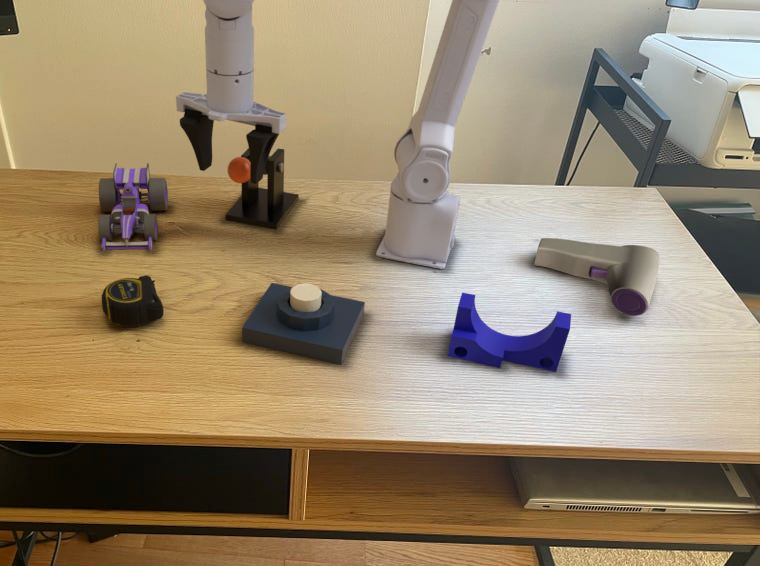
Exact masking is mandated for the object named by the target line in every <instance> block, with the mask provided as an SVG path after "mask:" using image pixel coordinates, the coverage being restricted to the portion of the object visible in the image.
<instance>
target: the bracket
mask: <svg viewBox="0 0 760 566" xmlns="http://www.w3.org/2000/svg"><path fill="white" fill-rule="evenodd" d="M270 156H271V157H270V158H269V159H268V172H267V175H266V176H267V180H266V181H267V182H266V183H267V187H266V188H264V187H259V182H260V181H259V182H258V183H257V184H253V183H251V179H249V180H248V181H247V182H245V183H241V196H240V197H239V198H238V199H237V201H235V203H234V204H233V205H232V206H231V207H230V208H229V210H228V211H227V212H226V213H225V215H224V217H225V218H224V219H225V221H228V222H235V223H239V224H244V225H250V226H255V227H261V228H267V229H272V230H278V229H279V227H280V226H281V225H282V223H283V222H284V221H285V219H286V218H287V216H288V215H289V214H290V212H291V211H292V210H293V208H294V207H295V206H296V204H297V203H298V202H299V199H300V197H299V196H300V194H299V193H292V192H287V191H285V149H284V148H276V150H275V151H274V152H273V154H272V155H270ZM240 157H244V158H246V159H248V160H249V161H250V152H249V147H247V149H246V150H245V151H244V152H243V153H242V154H241V155H240Z"/></svg>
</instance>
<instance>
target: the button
mask: <svg viewBox="0 0 760 566" xmlns="http://www.w3.org/2000/svg"><path fill="white" fill-rule="evenodd" d="M292 287H293V288H292V289H291V291H290V306H291V307H292V309H294V310H295V311H300V312H314V311H316V310H318V309H319V308H320V306H321V295H322V292H321V290H320V289H321V288H320V287H319V286H317V285H315V284H312V283H304V282H303V283H299V284H296V285H294V286H292Z"/></svg>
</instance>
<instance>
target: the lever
mask: <svg viewBox="0 0 760 566" xmlns="http://www.w3.org/2000/svg"><path fill="white" fill-rule="evenodd" d="M271 156H272V155H269V156H268V159H269V158H270V157H271ZM268 159H267V162H266V166H265V169H264V174H263V176H267V172H268ZM250 164H251V162H250V161H249V160H248V159H246V158H244V157H241V156H236V157H234V158H232V159H231V160H230V162H228V165H227V176H228V177H229V178H230V180H231V181H232V182H234V183H236V184H242V183H245V182H247V181H248V180H249V179H250Z"/></svg>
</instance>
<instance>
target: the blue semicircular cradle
mask: <svg viewBox="0 0 760 566" xmlns="http://www.w3.org/2000/svg"><path fill="white" fill-rule="evenodd" d="M571 323H572V313H568V312H563V311H559V310H557V311H556V312H555V315H554V317H553V319H552V320H551V322H550V323H549V324H548V325H546V326H545V327H544V328H543V329H541V330H539V331H537V332H534V333H531V334H527V335H509V334H504V333H501V332H499V331H497V330H495V329H493V328H492V327H490V326H489V325H487V323H485V322H484V321H483V320H482V318H481V316H480V315H479V313H478V311H477V307H476V294H472V293H467V292H461V295H460V299H459V302H458V305H457V310H456V315H455V320H454V325H453V329H452V332H451V336H450V341H449V346H448V352H447V357H449V358H450V357H451V358H454V359H458V360H463V361H468V362H472V363H475V364H480V365H484V366H487V367H493V368H496V369H497V368H498V369H501V367H502V364H503V362H507V363H512V364H513V363H514V364H517V365H520V366H521V365H522V366H526V367H531V368H534V369H539V370H545V371H549V372H553V373H557V370H558V368H559V365H560V362H561V358H562V355H563V353H564V349H565V345H566V343H567V340H568V337H569V334H570V331H571Z"/></svg>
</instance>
